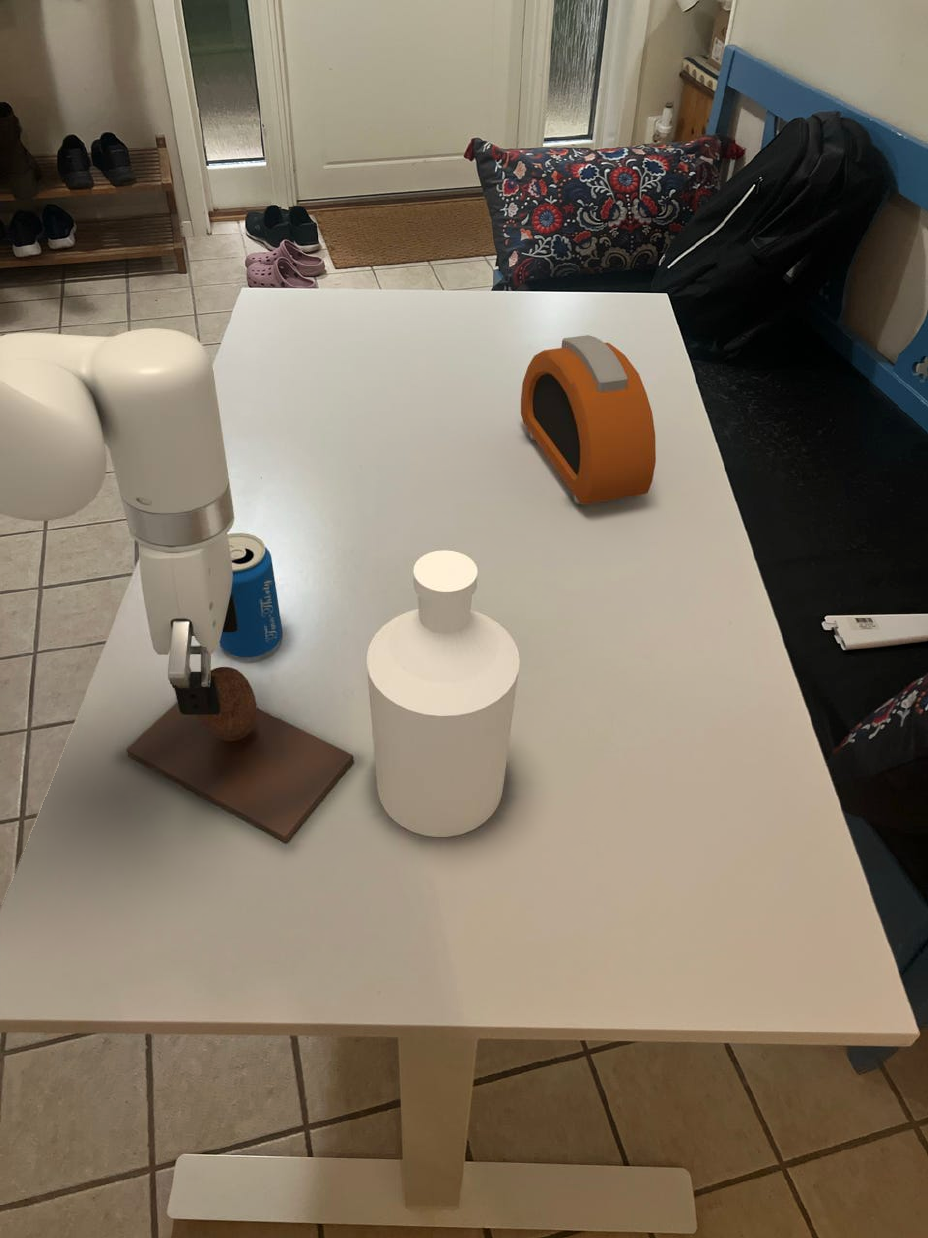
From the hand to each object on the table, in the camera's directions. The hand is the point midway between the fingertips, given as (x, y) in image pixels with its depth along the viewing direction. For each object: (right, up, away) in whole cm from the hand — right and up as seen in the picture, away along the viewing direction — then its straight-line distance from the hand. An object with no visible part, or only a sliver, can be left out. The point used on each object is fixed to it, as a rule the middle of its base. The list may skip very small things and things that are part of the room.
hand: (211, 669), depth 76 cm
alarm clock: (+37, +25, +42) cm, 61 cm away
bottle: (+19, -11, +4) cm, 23 cm away
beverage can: (0, +2, +16) cm, 17 cm away
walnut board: (+1, -9, +5) cm, 10 cm away
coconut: (0, -6, +6) cm, 9 cm away
